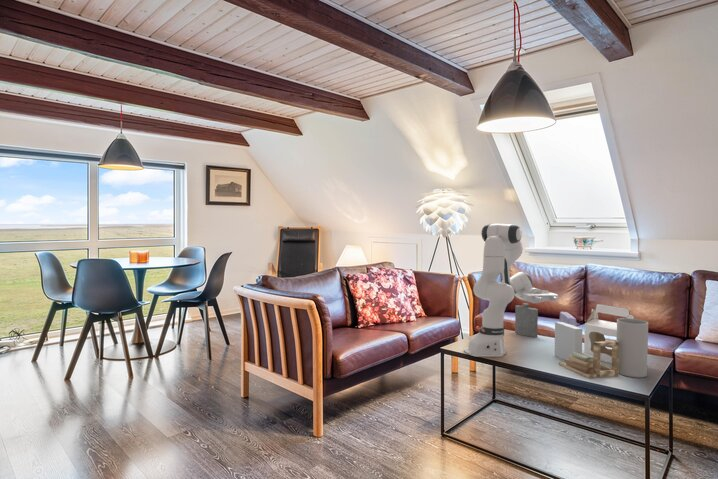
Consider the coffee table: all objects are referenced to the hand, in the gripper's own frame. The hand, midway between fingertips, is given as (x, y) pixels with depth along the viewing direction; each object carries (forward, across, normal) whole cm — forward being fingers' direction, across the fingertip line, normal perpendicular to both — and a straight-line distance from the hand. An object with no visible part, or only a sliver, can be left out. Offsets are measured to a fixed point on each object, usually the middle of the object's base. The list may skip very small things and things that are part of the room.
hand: (548, 299), depth 246 cm
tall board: (+18, -1, +28) cm, 34 cm away
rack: (+34, -2, +29) cm, 45 cm away
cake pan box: (-7, +18, +28) cm, 34 cm away
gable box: (+22, +22, +28) cm, 42 cm away
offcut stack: (+36, -8, +27) cm, 46 cm away
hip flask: (-33, +8, +28) cm, 44 cm away
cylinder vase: (+43, +14, +28) cm, 54 cm away
